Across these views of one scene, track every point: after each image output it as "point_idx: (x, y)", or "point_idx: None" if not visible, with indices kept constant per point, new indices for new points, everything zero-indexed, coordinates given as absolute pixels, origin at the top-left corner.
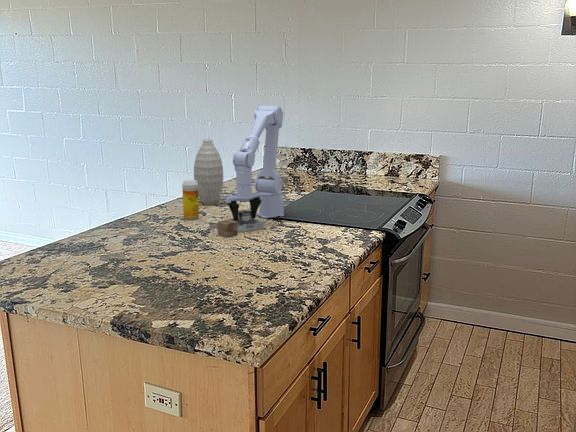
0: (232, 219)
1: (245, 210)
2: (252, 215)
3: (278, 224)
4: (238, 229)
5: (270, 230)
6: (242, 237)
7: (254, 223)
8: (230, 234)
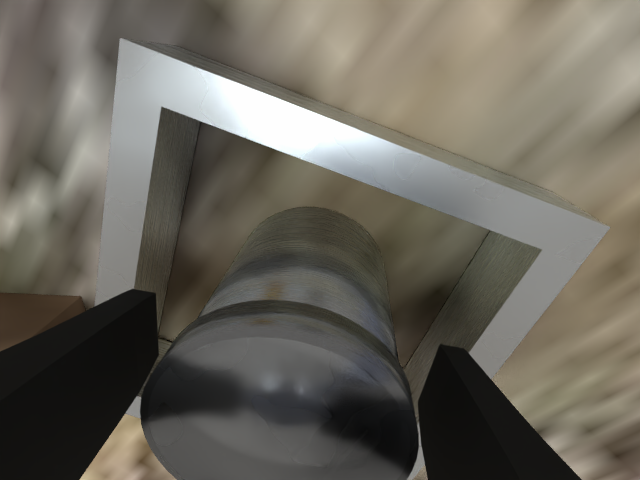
0: (221, 124)
1: (373, 394)
2: (436, 402)
3: (636, 424)
4: None
5: None
6: (119, 450)
7: None
8: None
